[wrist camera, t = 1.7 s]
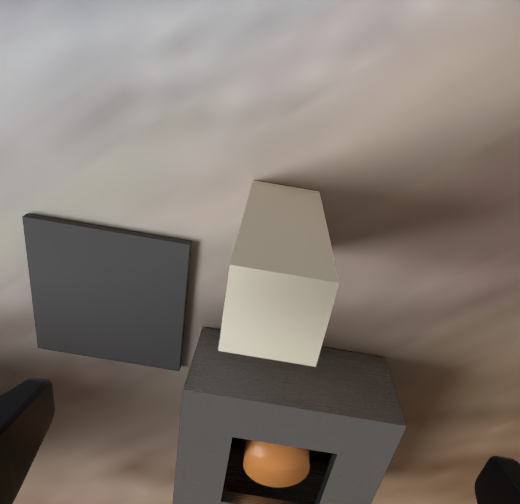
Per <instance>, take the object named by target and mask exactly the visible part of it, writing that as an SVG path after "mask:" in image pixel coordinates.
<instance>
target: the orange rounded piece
mask: <svg viewBox="0 0 520 504" xmlns="http://www.w3.org/2000/svg"><path fill="white" fill-rule="evenodd" d="M243 467H244V470H245V472H246V474H247V475H248V476H249V477H250V478H251V479H252V480H254V481H255V482H257V483H259V484H262V485H265V486H269V487H278V488H280V487H289V486H292V485H295V484H297V483H299V482H301V481H302V480H304V479H305V477H306V476H307V475H308V473H309V469H310V463H309V449H303V448H296V447H290V446H284V445H278V444H272V443H266V442H259V441H253V440H247V439H246V443H245V452H244V461H243Z"/></svg>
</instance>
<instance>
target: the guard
mask: <svg viewBox="0 0 520 504" xmlns="http://www.w3.org/2000/svg"><path fill="white" fill-rule="evenodd" d="M220 333H221V330H217V329H211V328H205V327H203V328H202V331H201V334H200V338H199V341H198V344H197V347H196V350H195V353H194V357H193V360H192V363H191V366H190V369H189V373H188V376H187V379H186V382H185V385H184V389H183V397H182V408H181V419H180V429H179V440H178V451H177V461H176V472H175V483H174V493H173V504H371V503H372V500H373V498H374V496H375V494H376V492H377V490H378V487H379V485H380V483H381V481H382V479H383V476H384V474H385V472H386V470H387V468H388V466H389V463H390V461H391V459H392V457H393V455H394V452H395V450H396V448H397V446H398V444H399V442H400V439H401V437H402V435H403V433H404V431H405V428H406V423H405V419H404V416H403V413H402V410H401V407H400V404H399V400H398V397H397V394H396V391H395V388H394V385H393V381H392V378H391V375H390V372H389V369H388V366H387V362H386V359H385V357H380V356H374V355H368V354H362V353H356V352H350V351H344V350H338V349H332V348H326V347H321V350H320V354H319V357H318V361H317V364H316V367H313V366H307V365H301V364H295V363H289V362H283V361H277V360H271V359H265V358H259V357H253V356H247V355H240V354H234V353H228V352H222V351H218V347H219V340H220ZM232 437H235V438H241V439H247V440H253V441H259V442H266V443H272V444H278V445H284V446H290V447H296V448H303V449H309V450H315V451H321V452H327V453H332V454H331V457H330V460H329V462H326V461H319V460H313V459H309V463H310V469H309V473H308V475H307V476H306V477H305V479H304V480H302V481H301V482H299V483H297V484H295V485H292V486H289V487H280V488H278V487H269V486H265V485H262V484H259V483H257V482H255V481H254V480H252V479H251V478H250V477H249V476H248V475H247V474H246V472H245V470H244V467H243V461H244V452H245V448H239V447H233V446H231V442H232Z"/></svg>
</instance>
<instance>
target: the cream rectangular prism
mask: <svg viewBox="0 0 520 504" xmlns="http://www.w3.org/2000/svg"><path fill="white" fill-rule="evenodd" d="M339 284H340V282H339V277H338V273H337V268H336V264H335V259H334V255H333V251H332V246H331V242H330V237H329V233H328V228H327V224H326V219H325V215H324V210H323V206H322V201H321V197H320V192H319V191H314V190H308V189H302V188H296V187H290V186H284V185H278V184H272V183H267V182H261V181H255V180H253V183H252V186H251V190H250V194H249V197H248V201H247V204H246V208H245V212H244V215H243V219H242V223H241V226H240V230H239V233H238V237H237V241H236V244H235V248H234V252H233V255H232V259H231V262H230V268H229V275H228V282H227V289H226V296H225V304H224V311H223V318H222V325H221V333H220V340H219V347H218V351H222V352H228V353H234V354H240V355H247V356H253V357H259V358H265V359H271V360H277V361H283V362H289V363H295V364H301V365H307V366H313V367H316V364H317V361H318V357H319V354H320V350H321V347H322V343H323V340H324V336H325V333H326V329H327V326H328V322H329V319H330V315H331V312H332V308H333V305H334V301H335V298H336V294H337V291H338V287H339Z"/></svg>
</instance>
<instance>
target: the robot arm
mask: <svg viewBox="0 0 520 504" xmlns="http://www.w3.org/2000/svg"><path fill="white" fill-rule="evenodd" d="M54 411H55V407H54V397H53V387H52V383H51V382H50V381H49V380H45V379H39V378H28V379H26V380H24V381H22V382H21V383H19V384H17V385H16V386H14V387H12V388H11V389H9V390H7V391H6V392H4V393H2V394H1V395H0V504H12V503H13V501H14V500H15V498H16V496H17V494H18V492H19V490H20V488H21V486H22V484H23V481H24V479H25V477H26V475H27V473H28V471H29V469H30V467H31V464H32V462H33V460H34V458H35V456H36V454H37V452H38V450H39V447H40V445H41V443H42V441H43V439H44V437H45V435H46V432H47V430H48V428H49V426H50V424H51V422H52V419H53V416H54ZM475 495H476V499H477V504H520V464H519V463H518V462H517V461H516V460H514V459H511V458H506V457H500V456H492V457H491V458H489V460H488V461H487V463H486V464H485V466H484V468H483V469H482V471H481V472H480V474H479V475H478V477H477V479H476V482H475Z"/></svg>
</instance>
